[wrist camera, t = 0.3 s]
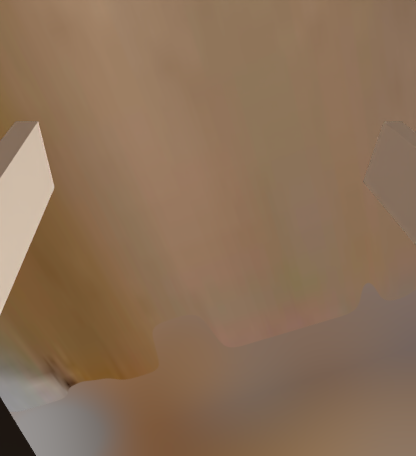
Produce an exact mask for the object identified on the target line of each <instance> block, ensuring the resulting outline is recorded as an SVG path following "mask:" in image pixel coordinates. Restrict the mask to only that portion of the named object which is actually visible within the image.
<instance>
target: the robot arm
mask: <svg viewBox="0 0 416 456" xmlns="http://www.w3.org/2000/svg"><path fill="white" fill-rule="evenodd" d="M363 182H364V184H365V185H366V186H367V187H368V188H369V190H370V191H371V192H372V193H373V194H374V196H375V197H376V198H377V199H378V200H379V202H380V203H381V204H382V205H383V206H384V208H385V209H386V210H387V211H388V213H389V214H390V215H391V216H392V217H393V219H394V220H395V221H396V222H397V223H398V225H399V226H400V227H401V228H402V229H403V231H404V232H405V233H406V234H407V235H408V237H409V238H410V239H411V240H412V241H413V243H414V244H415V245H416V132H415V131H414V130H412V129H411V128H410V127H408V126H407V125H406V124H404V123H403V122H397V121H384V122H383V125H382V128H381V131H380V134H379V137H378V140H377V143H376V145H375V148H374V151H373V154H372V157H371V160H370V163H369V166H368V169H367V172H366V175H365V178H364V181H363ZM53 189H54V184H53V180H52V176H51V171H50V167H49V163H48V159H47V155H46V151H45V147H44V143H43V139H42V135H41V131H40V127H39V123H38V121H16V122H15V123H14V124H13V126H12V127H11V128H10V129H9V131H8V132H7V133H6V134H5V136H4V137H3V138H2V139H1V141H0V314H1V311H2V309H3V307H4V304H5V302H6V300H7V297H8V295H9V293H10V290H11V288H12V286H13V283H14V281H15V279H16V276H17V274H18V272H19V269H20V267H21V264H22V262H23V260H24V257H25V255H26V253H27V250H28V248H29V246H30V243H31V241H32V239H33V236H34V234H35V232H36V229H37V227H38V225H39V222H40V220H41V218H42V215H43V213H44V211H45V208H46V206H47V204H48V201H49V199H50V196H51V194H52V192H53ZM0 456H36V455H35V453H34V452H33V450H32V448H31V447H30V445H29V443H28V442H27V440H26V438H25V437H24V435H23V434H22V432H21V431H20V429H19V427H18V425H17V424H16V422H15V420H14V419H13V417H12V416H11V414H10V412H9V411H8V409H7V407H6V406H5V404H4V402H3V401H2V399H1V398H0Z"/></svg>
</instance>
